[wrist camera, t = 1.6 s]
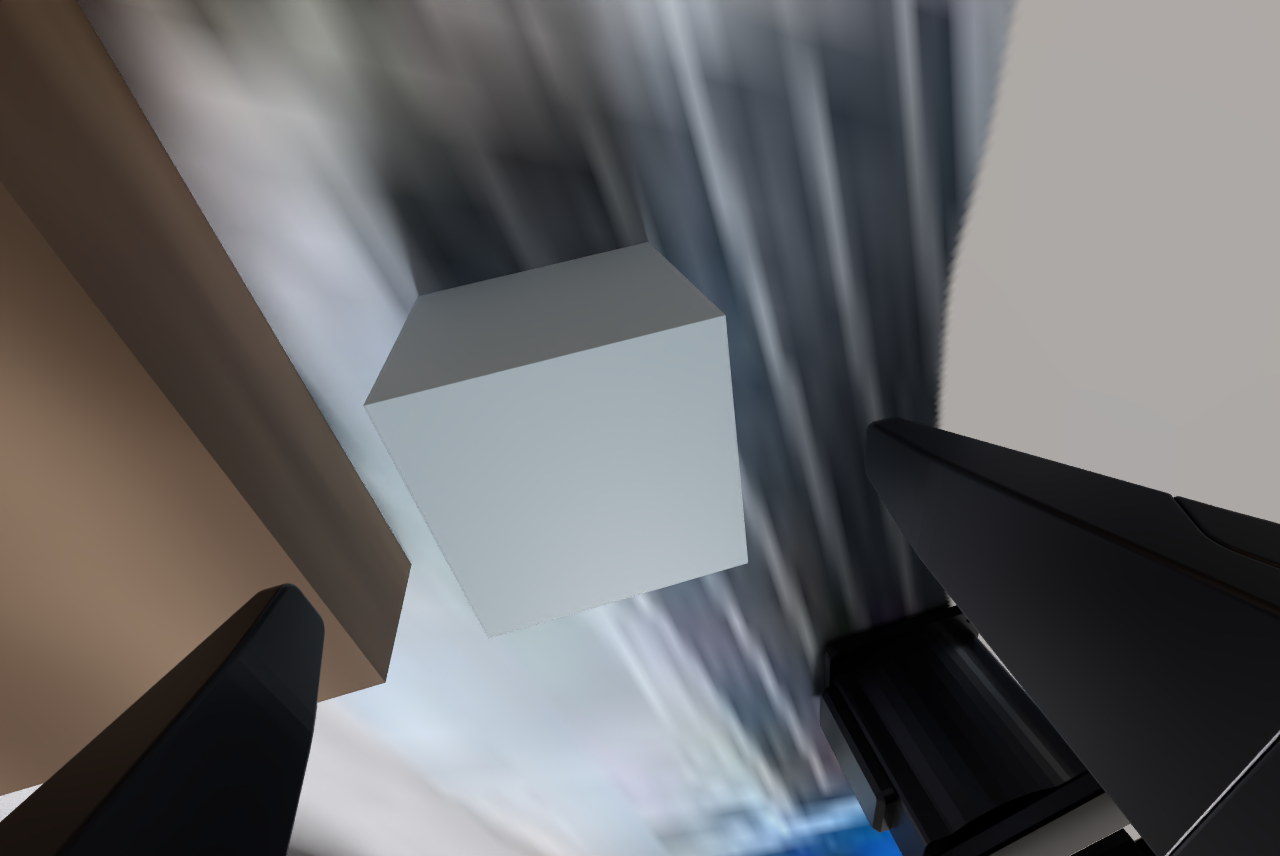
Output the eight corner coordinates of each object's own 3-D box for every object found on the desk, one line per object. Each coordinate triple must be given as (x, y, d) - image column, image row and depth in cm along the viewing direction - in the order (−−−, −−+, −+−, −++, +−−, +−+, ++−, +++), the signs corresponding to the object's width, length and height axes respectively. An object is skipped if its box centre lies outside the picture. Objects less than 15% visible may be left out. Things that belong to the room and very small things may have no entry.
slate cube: (647, 241, 12) (725, 315, 7) (678, 429, 14) (748, 562, 10) (418, 294, 11) (362, 405, 7) (495, 478, 14) (488, 638, 10)
